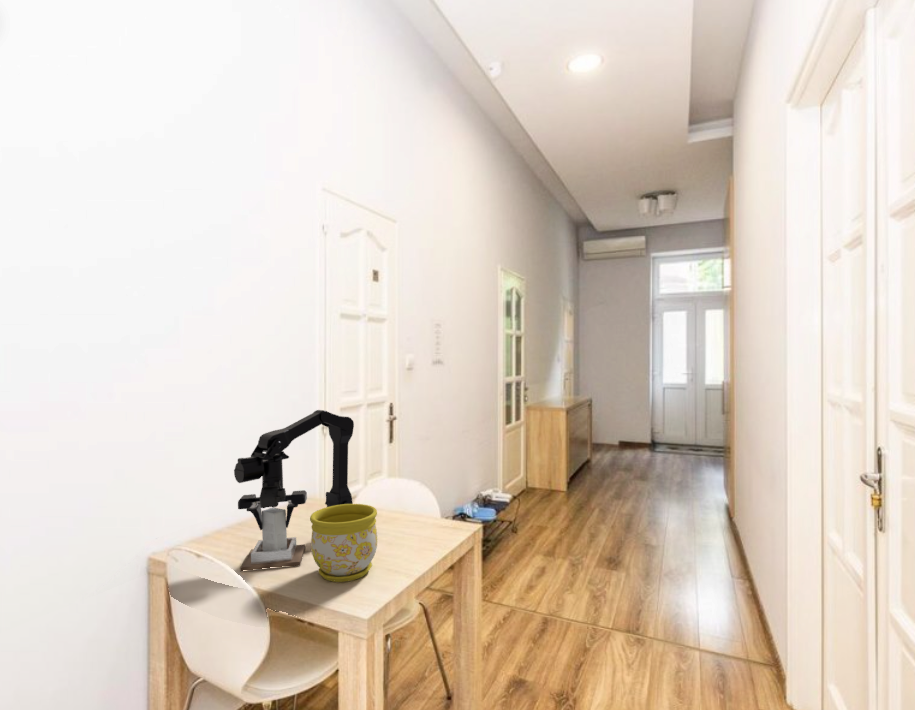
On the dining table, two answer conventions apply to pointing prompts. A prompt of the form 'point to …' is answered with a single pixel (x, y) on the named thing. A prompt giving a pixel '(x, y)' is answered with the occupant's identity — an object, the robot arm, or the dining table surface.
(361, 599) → the dining table surface
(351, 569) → the flowerpot
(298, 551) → the square wooden tray
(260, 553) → the light gray square frame
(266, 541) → the skincare box
